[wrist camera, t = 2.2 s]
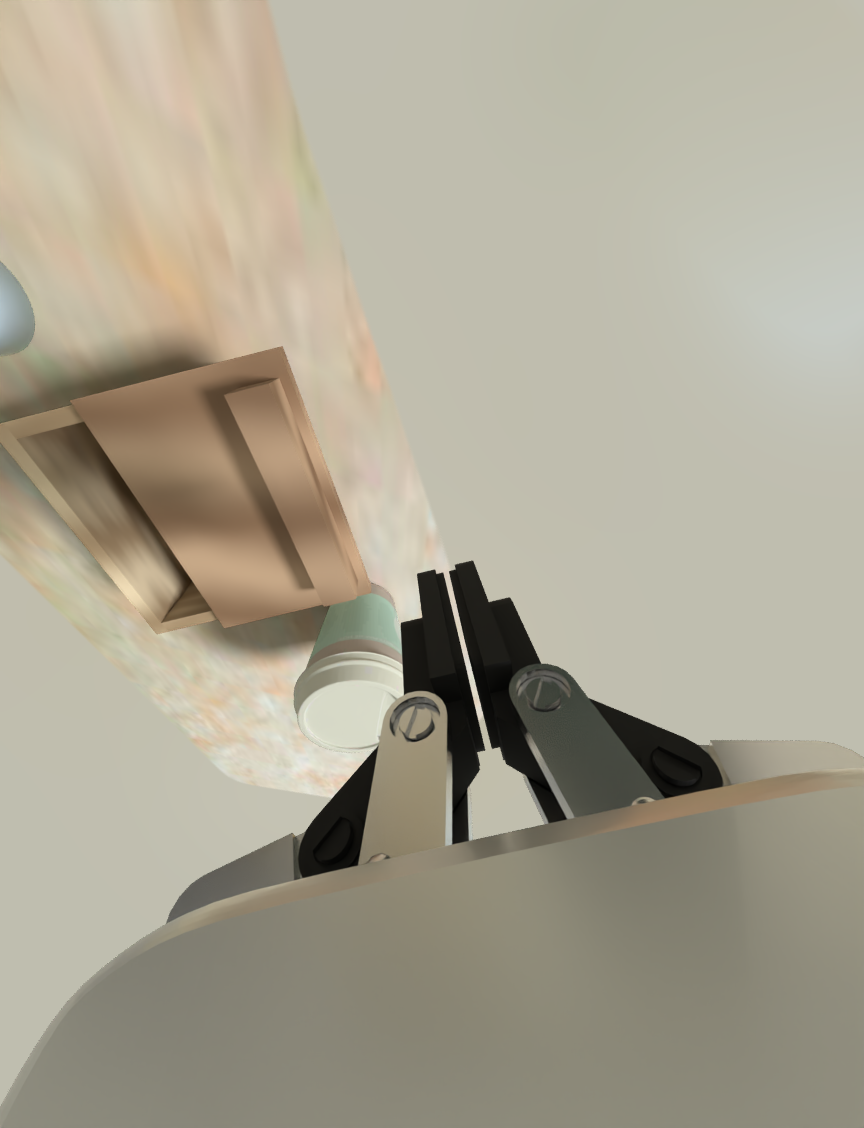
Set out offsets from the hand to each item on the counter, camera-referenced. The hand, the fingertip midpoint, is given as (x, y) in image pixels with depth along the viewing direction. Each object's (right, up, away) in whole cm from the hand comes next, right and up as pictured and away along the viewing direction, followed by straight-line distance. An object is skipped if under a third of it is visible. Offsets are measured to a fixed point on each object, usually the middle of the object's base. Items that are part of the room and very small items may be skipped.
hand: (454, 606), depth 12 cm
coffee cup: (-7, -3, +24) cm, 26 cm away
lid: (-11, +4, +11) cm, 16 cm away
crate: (-17, +7, +17) cm, 25 cm away
